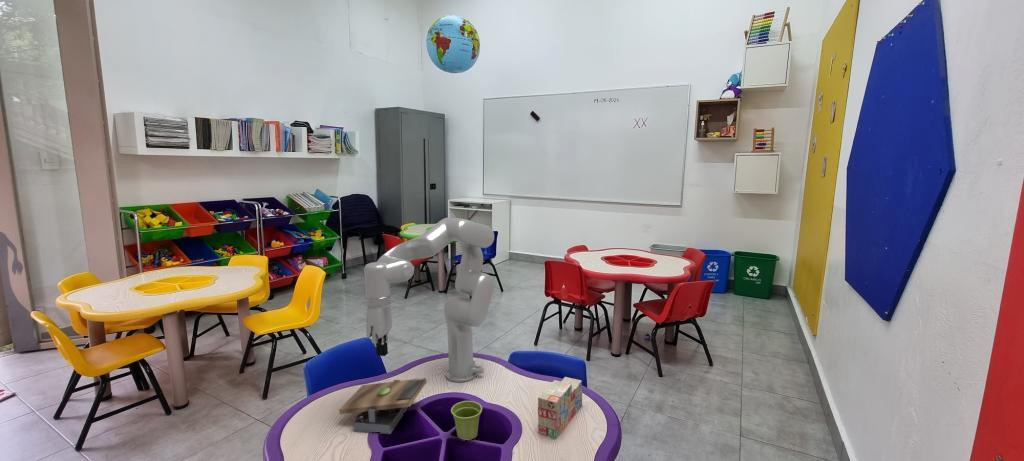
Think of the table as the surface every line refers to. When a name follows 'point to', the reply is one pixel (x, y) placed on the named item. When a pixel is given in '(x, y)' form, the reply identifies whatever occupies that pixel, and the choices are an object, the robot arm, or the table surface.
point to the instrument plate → (384, 396)
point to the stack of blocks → (558, 406)
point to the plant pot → (466, 418)
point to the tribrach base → (378, 420)
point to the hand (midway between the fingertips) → (382, 354)
